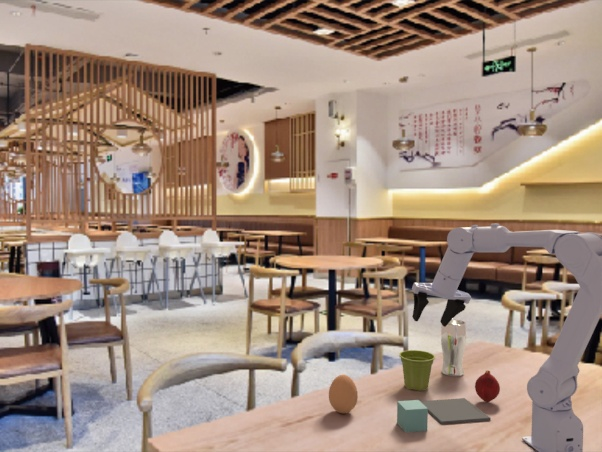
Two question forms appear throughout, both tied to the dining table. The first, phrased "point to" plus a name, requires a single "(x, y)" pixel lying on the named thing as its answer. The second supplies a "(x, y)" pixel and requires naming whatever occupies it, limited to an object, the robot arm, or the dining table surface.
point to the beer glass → (453, 347)
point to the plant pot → (416, 368)
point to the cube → (412, 415)
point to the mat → (454, 411)
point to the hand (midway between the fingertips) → (428, 321)
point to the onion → (487, 387)
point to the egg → (343, 394)
